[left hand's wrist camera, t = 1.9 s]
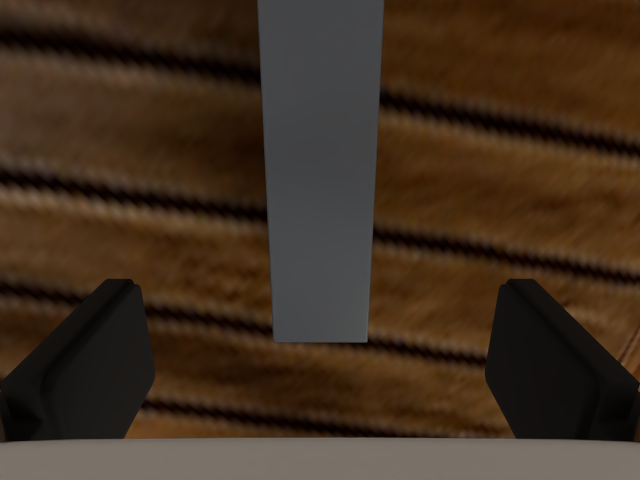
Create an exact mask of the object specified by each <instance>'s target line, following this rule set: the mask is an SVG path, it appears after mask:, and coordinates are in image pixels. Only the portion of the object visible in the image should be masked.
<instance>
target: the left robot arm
mask: <svg viewBox="0 0 640 480" xmlns="http://www.w3.org/2000/svg"><path fill="white" fill-rule="evenodd" d="M154 378H155V366H154V361H153V355H152V349H151V344H150V338H149V332H148V326H147V321H146V315H145V309H144V304H143V298H142V292H141V288H140V286H139V285H138V284H134V283H133V281H132V280H131V279H106V280H105V281H104V282H103V283H102V284H101V285H100V286H99V287H98V288H97V289H96V290H95V291H94V292H93V293H92V294H91V295H90V296H88V297H87V298H86V299H85V300H84V301H83V302H82V303H81V304H80V305H79V306H78V307H77V308H76V309H75V310H74V311H73V312H72V313H71V314H70V315H69V316H68V317H67V318H66V319H65V320H64V321H63V322H62V323H61V324H60V325H59V326H58V327H57V328H56V329H55V330H54V331H53V332H52V333H51V334H50V335H49V336H48V337H47V338H46V339H45V340H44V341H43V342H41V343H40V344H39V345H38V346H37V347H36V348H35V349H34V350H33V351H32V352H31V353H30V354H29V355H28V356H27V357H26V358H25V359H24V360H23V361H22V362H21V363H20V364H19V365H18V366H17V367H16V368H15V369H14V370H13V371H12V372H11V373H10V374H9V375H8V376H7V377H6V378H5V379H4V380H3V381H2V382H1V383H0V385H1V388H2V391H1V392H0V480H640V392H639V391H638V388H639V385H640V383H639V382H638V381H637V380H636V379H635V378H634V377H633V376H632V375H631V374H630V373H629V372H628V371H627V370H626V369H625V368H624V367H623V366H622V365H621V364H620V363H619V362H618V361H617V360H616V359H615V358H614V357H613V356H612V355H611V354H610V353H609V352H608V351H607V350H606V349H605V348H604V347H603V346H602V345H601V344H600V343H598V342H597V341H596V340H595V339H594V338H593V337H592V336H591V335H590V334H589V333H588V332H587V331H586V330H585V329H584V328H583V327H582V326H581V325H580V324H579V323H578V322H577V321H576V320H575V319H574V318H573V317H572V316H571V315H570V314H569V313H568V312H567V311H566V310H565V309H564V308H563V307H562V306H561V305H560V304H559V303H558V302H557V301H556V300H555V299H554V298H553V297H552V296H550V295H549V294H548V293H547V292H546V291H545V290H544V289H543V288H542V287H541V286H540V285H539V284H538V283H537V282H536V281H535V280H534V279H509V280H508V281H507V283H506V284H502V285H501V286H500V288H499V292H498V298H497V304H496V309H495V315H494V321H493V326H492V332H491V338H490V344H489V349H488V355H487V361H486V366H485V378H486V382H487V384H488V386H489V388H490V390H491V392H492V394H493V396H494V397H495V399H496V401H497V403H498V405H499V407H500V409H501V411H502V413H503V414H504V416H505V418H506V420H507V422H508V424H509V426H510V428H511V429H512V431H513V433H514V435H515V437H516V439H464V438H176V439H124V437H125V435H126V433H127V431H128V429H129V428H130V426H131V424H132V422H133V420H134V418H135V416H136V414H137V413H138V411H139V409H140V407H141V405H142V403H143V401H144V399H145V397H146V396H147V394H148V392H149V390H150V388H151V386H152V384H153V382H154Z"/></svg>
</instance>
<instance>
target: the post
mask: <svg viewBox="0 0 640 480" xmlns="http://www.w3.org/2000/svg"><path fill="white" fill-rule="evenodd" d="M257 10H258V31H259V52H260V73H261V94H262V114H263V135H264V156H265V177H266V198H267V218H268V239H269V260H270V281H271V302H272V322H273V341H274V342H367V340H368V321H369V301H370V280H371V260H372V239H373V219H374V199H375V178H376V158H377V137H378V117H379V96H380V76H381V56H382V35H383V15H384V0H257Z"/></svg>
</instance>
